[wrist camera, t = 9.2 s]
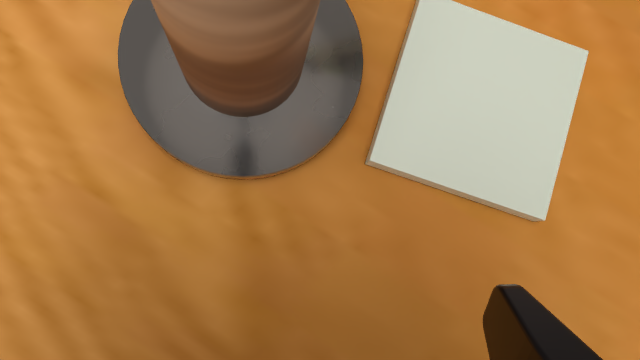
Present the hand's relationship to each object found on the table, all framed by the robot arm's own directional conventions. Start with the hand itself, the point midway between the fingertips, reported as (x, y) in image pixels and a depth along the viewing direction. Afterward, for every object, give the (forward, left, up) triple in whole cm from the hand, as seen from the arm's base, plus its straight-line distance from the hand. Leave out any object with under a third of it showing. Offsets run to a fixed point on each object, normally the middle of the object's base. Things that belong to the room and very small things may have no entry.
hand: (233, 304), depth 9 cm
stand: (+12, +1, -14) cm, 18 cm away
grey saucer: (+4, +8, -14) cm, 16 cm away
